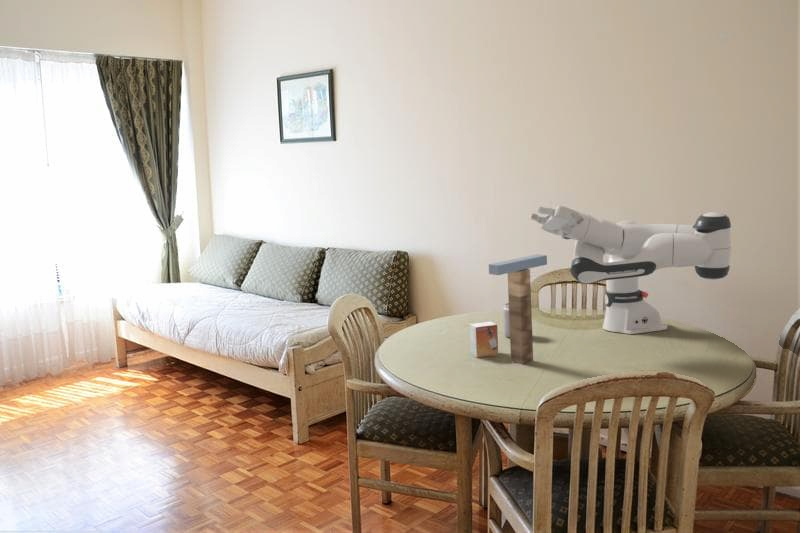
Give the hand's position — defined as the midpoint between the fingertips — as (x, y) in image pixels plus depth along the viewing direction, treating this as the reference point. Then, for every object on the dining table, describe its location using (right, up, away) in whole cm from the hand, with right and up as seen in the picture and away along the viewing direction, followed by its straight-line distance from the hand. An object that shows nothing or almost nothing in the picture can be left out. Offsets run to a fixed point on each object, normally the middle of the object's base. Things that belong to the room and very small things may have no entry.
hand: (535, 212), depth 234 cm
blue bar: (-6, -18, -4) cm, 20 cm away
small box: (-15, -47, +11) cm, 51 cm away
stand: (-4, -48, +1) cm, 48 cm away
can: (-2, -43, +31) cm, 53 cm away
